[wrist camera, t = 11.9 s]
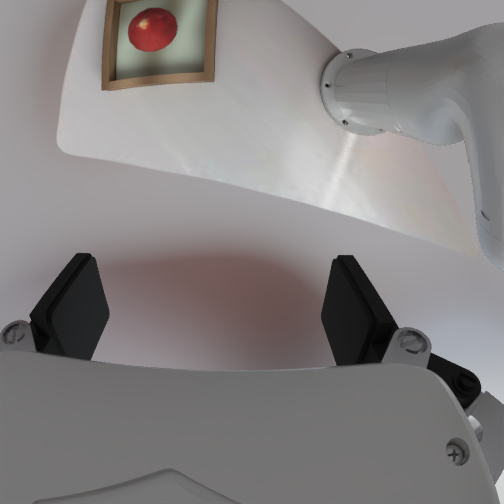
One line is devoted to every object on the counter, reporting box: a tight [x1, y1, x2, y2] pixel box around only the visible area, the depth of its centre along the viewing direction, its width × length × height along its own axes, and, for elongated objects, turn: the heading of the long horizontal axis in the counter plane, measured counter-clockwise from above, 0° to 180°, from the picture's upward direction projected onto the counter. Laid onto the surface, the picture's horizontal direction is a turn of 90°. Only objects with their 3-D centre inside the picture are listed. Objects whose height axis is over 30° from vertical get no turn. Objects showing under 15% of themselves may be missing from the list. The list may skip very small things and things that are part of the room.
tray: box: [102, 0, 218, 91], centre depth 28 cm, size 14×14×4 cm
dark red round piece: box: [128, 8, 178, 52], centre depth 25 cm, size 6×6×8 cm
